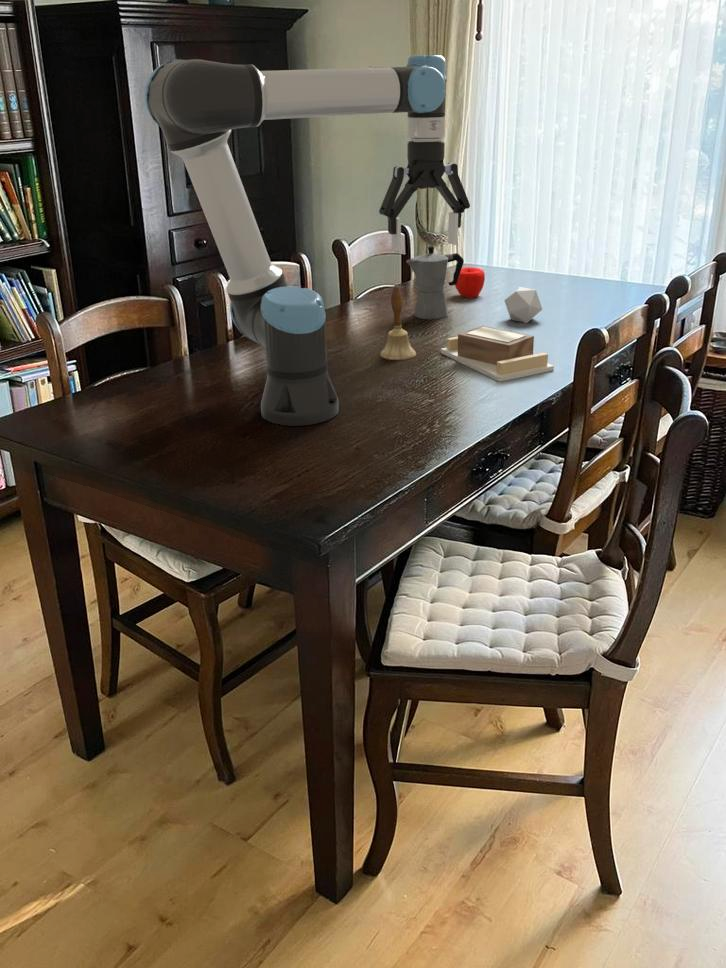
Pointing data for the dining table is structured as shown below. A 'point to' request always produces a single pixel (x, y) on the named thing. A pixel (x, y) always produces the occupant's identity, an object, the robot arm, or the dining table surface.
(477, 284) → the apple
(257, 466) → the dining table surface
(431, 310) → the coffeepot
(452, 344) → the wall panel
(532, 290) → the die
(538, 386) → the dining table surface
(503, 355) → the frame
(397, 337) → the hand bell
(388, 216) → the robot arm
